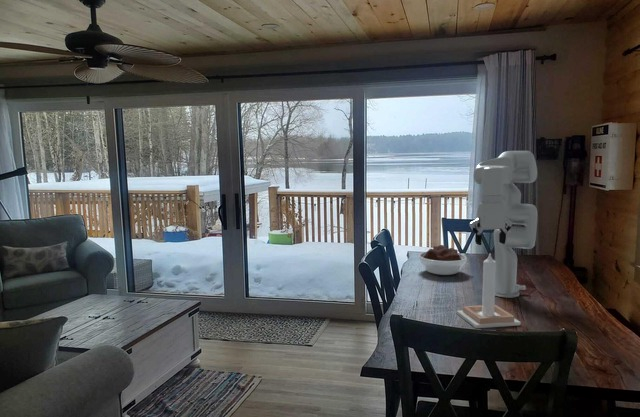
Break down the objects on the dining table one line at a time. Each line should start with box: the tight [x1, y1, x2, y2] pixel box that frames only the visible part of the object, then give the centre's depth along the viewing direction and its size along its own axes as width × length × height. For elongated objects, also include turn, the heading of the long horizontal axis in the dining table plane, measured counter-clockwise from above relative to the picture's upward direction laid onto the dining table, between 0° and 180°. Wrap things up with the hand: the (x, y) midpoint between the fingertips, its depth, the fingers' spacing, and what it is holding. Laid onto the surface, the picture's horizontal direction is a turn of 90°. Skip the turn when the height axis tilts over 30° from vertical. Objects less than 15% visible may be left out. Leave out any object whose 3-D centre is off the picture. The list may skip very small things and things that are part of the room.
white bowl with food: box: [418, 244, 468, 276], centre depth 245 cm, size 25×25×15 cm
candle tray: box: [456, 304, 522, 329], centre depth 177 cm, size 18×16×3 cm
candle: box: [478, 252, 498, 317], centre depth 175 cm, size 7×7×25 cm
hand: (490, 243), depth 174 cm, fingers open, 9 cm apart
